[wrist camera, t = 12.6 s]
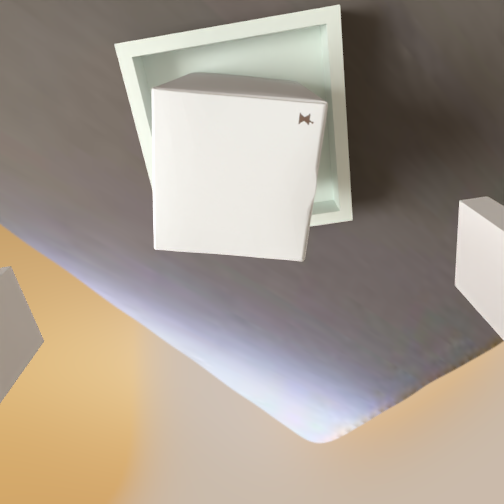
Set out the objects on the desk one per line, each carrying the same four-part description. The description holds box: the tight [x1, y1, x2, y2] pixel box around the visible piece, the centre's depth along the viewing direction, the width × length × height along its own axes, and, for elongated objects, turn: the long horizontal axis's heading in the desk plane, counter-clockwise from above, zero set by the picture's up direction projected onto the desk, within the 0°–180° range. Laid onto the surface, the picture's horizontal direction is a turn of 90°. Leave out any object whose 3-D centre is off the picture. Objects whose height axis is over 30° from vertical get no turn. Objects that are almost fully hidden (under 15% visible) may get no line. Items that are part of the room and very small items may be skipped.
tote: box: [114, 5, 353, 226], centre depth 35 cm, size 16×16×4 cm
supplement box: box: [151, 72, 328, 261], centre depth 29 cm, size 9×9×15 cm
